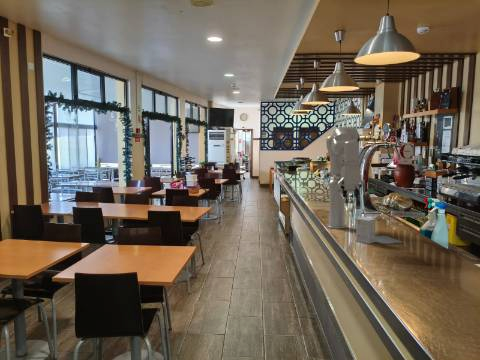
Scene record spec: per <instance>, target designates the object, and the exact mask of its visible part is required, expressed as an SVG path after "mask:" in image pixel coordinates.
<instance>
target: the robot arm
mask: <svg viewBox="0 0 480 360" xmlns="http://www.w3.org/2000/svg"><path fill="white" fill-rule="evenodd" d="M358 138H359V131H358V129H357V127H354V126H341V127H340V126H339V127H337V128H335V129H334V131H333V135H329V136H327V137H326V140H325V142H326V143H325V145H326V150H327V152H328V154H329V170H330V175H331V176H332V177H335V178H333V179H330V180H329V181H328V185H327V186H328V191H329V192H328V195H329V204H328V205H329V208H328V209H329V210H328V212H329V214H328V220H327V221H328V223H327V224H326V227H327V228H329V229H335V230H337V229H340V230H341V229H346V228H347V225H346V224H345V205H346V204H345V199H346V198H347V197H348V194H351V195H352V194H353V197H355V198H359V195H360V194H359V192H360V189H361V188H362V186H363V185H364V184H365V182H364V181H363V180H362V178H361V177H362V176H361V173H362V172H361V167H360V166H359V165H361V161H360V159H359V158H360V154H359V153H360V143H359V141H358Z"/></svg>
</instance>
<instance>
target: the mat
mask: <svg viewBox="0 0 480 360" xmlns="http://www.w3.org/2000/svg"><path fill="white" fill-rule="evenodd" d="M375 241H376V242H375V243H377V242H378V244H379V243H380V245H382V244H385V245H393V244H394V245H395V243H397V244H404V242H403V241H401V240H399V239H395V238H393V237H390V236H387V235H375Z"/></svg>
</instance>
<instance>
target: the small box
mask: <svg viewBox="0 0 480 360" xmlns="http://www.w3.org/2000/svg"><path fill="white" fill-rule="evenodd" d="M355 234H356V236H355V238H356V239H355V240H356V242H358V243H363V244H367V245H369V244H373V243H376V242H375V236H376V218H370V217H364V216H363V217H362V216H361V217H357V218H356V233H355Z"/></svg>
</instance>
